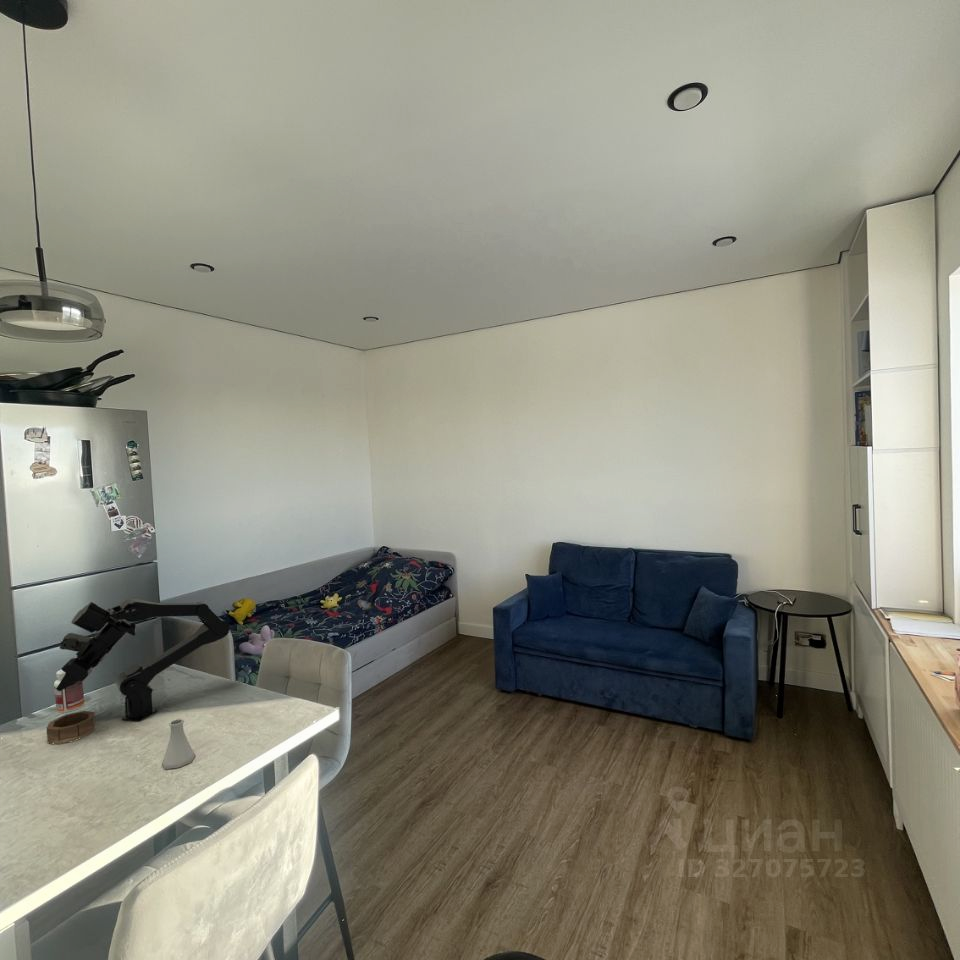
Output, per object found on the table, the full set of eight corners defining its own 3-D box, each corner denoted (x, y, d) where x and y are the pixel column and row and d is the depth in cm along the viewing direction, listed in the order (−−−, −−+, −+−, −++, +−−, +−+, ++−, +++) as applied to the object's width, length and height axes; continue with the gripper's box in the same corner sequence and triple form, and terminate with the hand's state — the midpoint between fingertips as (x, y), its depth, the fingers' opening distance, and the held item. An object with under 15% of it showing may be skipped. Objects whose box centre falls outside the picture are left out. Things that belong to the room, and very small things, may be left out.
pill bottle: (88, 701, 148) (84, 663, 147) (80, 711, 142) (76, 671, 141) (61, 706, 145) (58, 668, 145) (52, 716, 140) (48, 676, 139)
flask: (160, 773, 122) (157, 732, 121) (162, 758, 128) (160, 719, 128) (195, 764, 125) (192, 723, 125) (195, 750, 131) (193, 711, 131)
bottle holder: (104, 726, 146) (104, 712, 146) (67, 746, 136) (67, 731, 136) (76, 723, 148) (75, 709, 148) (37, 742, 138) (36, 728, 138)
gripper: (91, 614, 153) (49, 657, 149) (68, 632, 135) (19, 682, 132) (125, 635, 156) (84, 678, 152) (106, 656, 139) (59, 705, 135)
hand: (62, 685), depth 143 cm, fingers closed on pill bottle, 6 cm apart
